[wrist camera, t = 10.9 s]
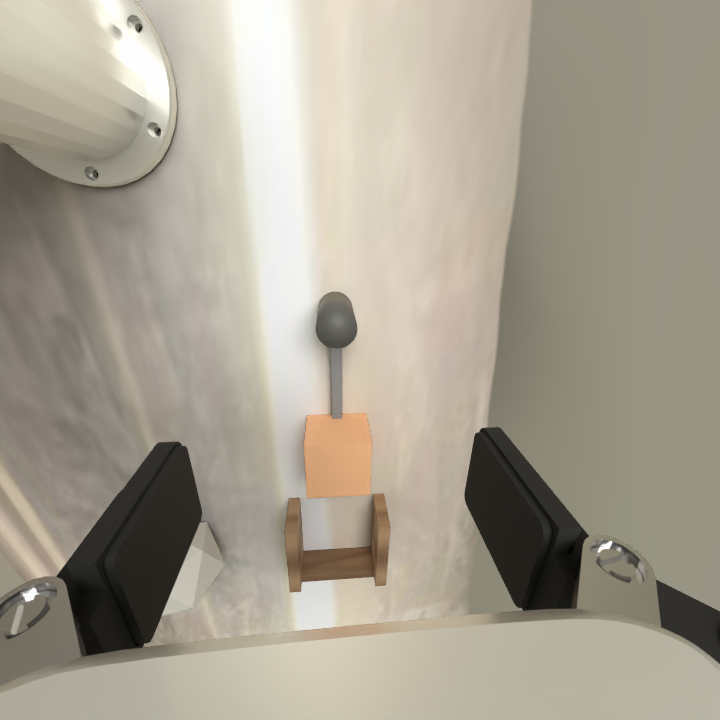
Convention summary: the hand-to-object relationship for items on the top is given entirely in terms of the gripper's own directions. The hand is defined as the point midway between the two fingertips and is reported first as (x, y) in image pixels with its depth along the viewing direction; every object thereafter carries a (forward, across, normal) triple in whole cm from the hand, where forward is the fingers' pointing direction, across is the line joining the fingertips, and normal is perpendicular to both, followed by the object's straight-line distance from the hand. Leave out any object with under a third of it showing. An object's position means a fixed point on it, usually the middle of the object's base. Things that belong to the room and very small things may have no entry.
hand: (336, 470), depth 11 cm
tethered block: (+21, 0, +8) cm, 22 cm away
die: (+21, +17, +27) cm, 38 cm away
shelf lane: (+21, 0, +26) cm, 34 cm away
